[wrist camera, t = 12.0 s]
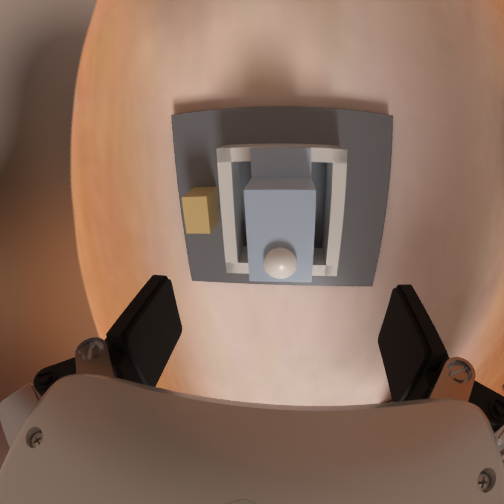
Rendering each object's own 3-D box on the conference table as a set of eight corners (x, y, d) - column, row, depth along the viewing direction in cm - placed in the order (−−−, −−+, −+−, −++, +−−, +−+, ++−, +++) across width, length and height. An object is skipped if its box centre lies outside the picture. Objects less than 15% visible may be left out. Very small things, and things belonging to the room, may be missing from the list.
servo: (307, 143, 20) (317, 155, 13) (305, 257, 24) (309, 310, 18) (256, 144, 20) (240, 155, 14) (261, 256, 25) (250, 308, 18)
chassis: (388, 115, 18) (407, 115, 15) (369, 280, 25) (379, 305, 22) (176, 115, 20) (155, 115, 17) (194, 275, 28) (182, 298, 24)
